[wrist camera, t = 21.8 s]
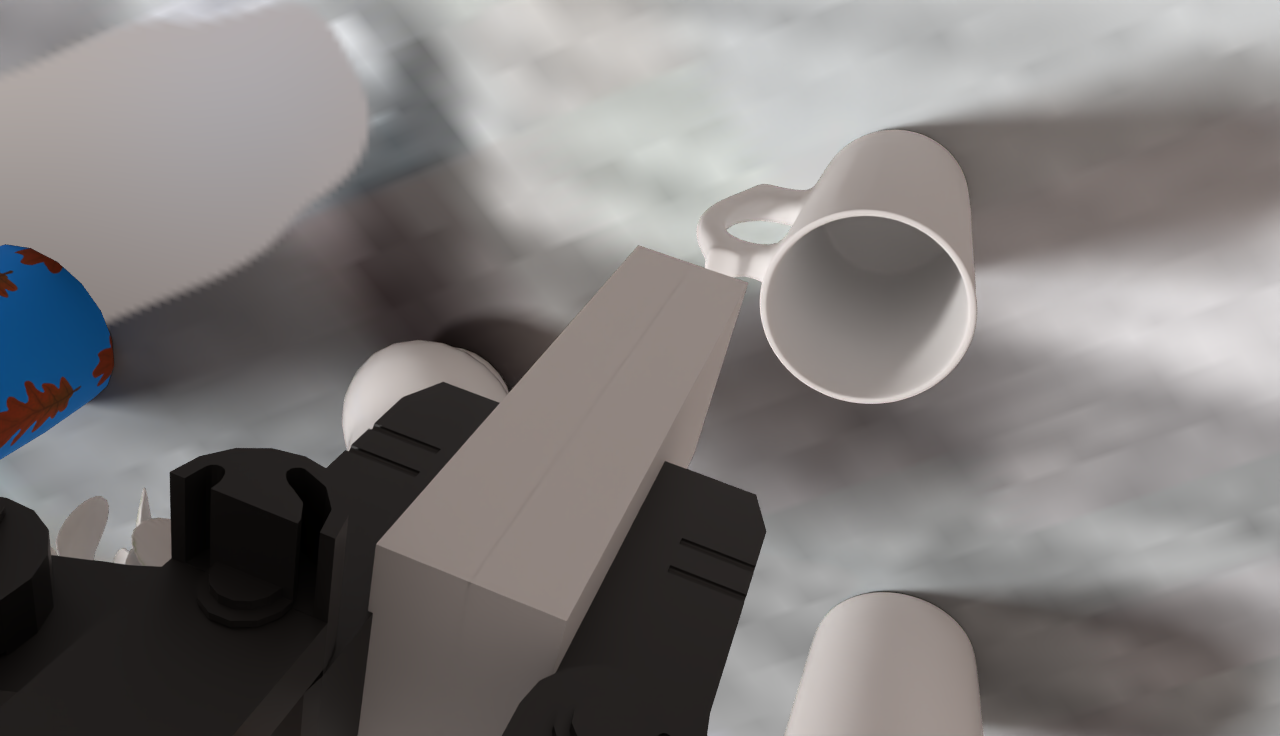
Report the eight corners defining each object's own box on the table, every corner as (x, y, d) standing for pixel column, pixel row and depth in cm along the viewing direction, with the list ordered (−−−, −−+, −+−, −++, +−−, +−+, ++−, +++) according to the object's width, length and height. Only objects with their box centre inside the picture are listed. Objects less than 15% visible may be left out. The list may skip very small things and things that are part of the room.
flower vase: (275, 290, 54) (-187, 573, 32) (594, 289, 48) (289, 632, 27) (334, 494, 59) (-28, 851, 38) (627, 515, 53) (396, 950, 32)
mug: (997, 141, 40) (1006, 237, 29) (950, 292, 43) (942, 427, 33) (753, 91, 42) (681, 165, 31) (725, 239, 45) (652, 351, 35)
